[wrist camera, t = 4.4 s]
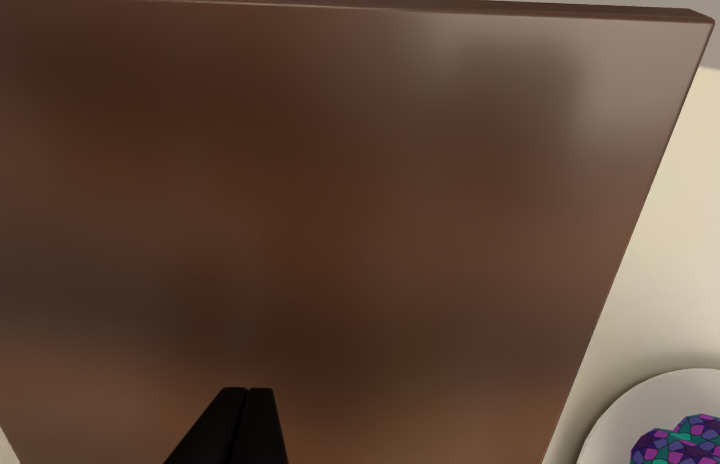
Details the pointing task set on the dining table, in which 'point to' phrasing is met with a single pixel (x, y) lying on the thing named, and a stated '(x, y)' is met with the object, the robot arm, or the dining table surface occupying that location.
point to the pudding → (660, 422)
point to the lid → (319, 216)
